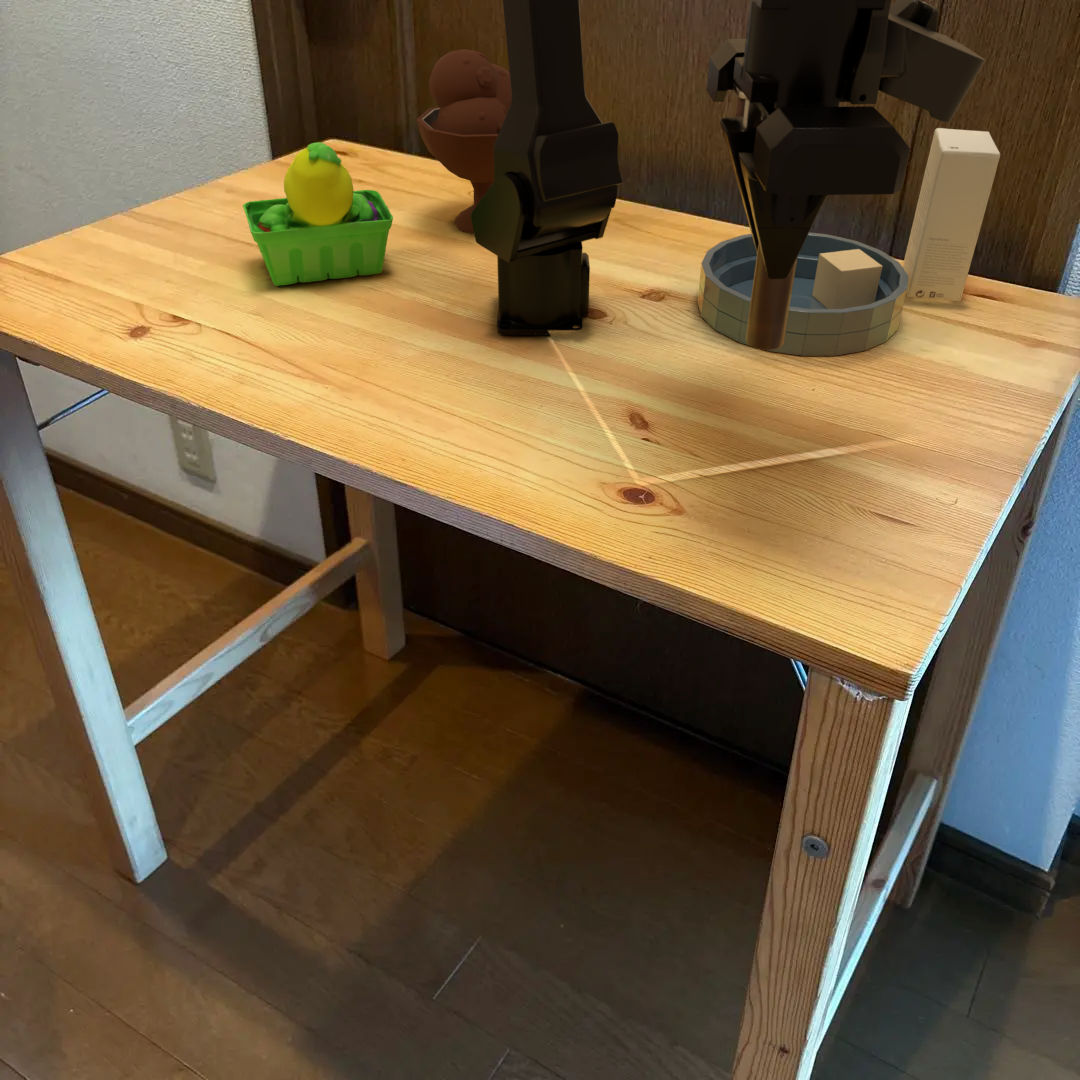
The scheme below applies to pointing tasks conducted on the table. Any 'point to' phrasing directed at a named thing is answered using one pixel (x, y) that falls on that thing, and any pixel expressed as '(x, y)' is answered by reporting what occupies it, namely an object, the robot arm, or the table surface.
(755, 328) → the stick
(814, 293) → the block
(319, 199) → the fruit basket
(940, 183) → the cosmetic box
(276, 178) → the table surface
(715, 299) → the bowl
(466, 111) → the ice cream bowl
